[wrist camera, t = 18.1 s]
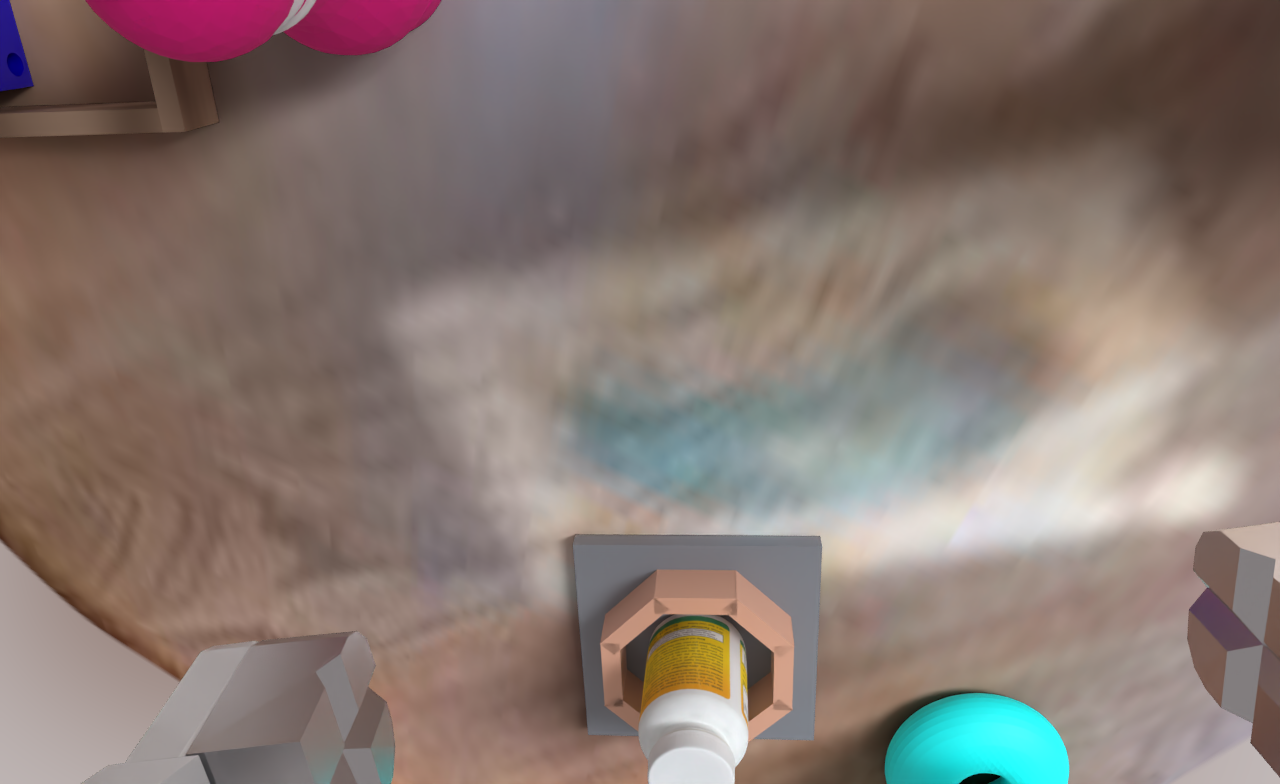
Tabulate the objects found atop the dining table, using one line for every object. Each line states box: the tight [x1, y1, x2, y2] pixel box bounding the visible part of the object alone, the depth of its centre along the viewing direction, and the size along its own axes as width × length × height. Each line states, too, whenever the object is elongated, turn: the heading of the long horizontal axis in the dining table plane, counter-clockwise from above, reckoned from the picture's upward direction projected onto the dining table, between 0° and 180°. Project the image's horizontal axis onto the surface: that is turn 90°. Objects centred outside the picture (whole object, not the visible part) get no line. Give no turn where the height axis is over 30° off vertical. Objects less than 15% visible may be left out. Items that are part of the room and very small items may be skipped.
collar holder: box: [573, 535, 822, 742], centre depth 51 cm, size 13×13×4 cm
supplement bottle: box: [638, 614, 748, 784], centre depth 47 cm, size 5×5×10 cm
